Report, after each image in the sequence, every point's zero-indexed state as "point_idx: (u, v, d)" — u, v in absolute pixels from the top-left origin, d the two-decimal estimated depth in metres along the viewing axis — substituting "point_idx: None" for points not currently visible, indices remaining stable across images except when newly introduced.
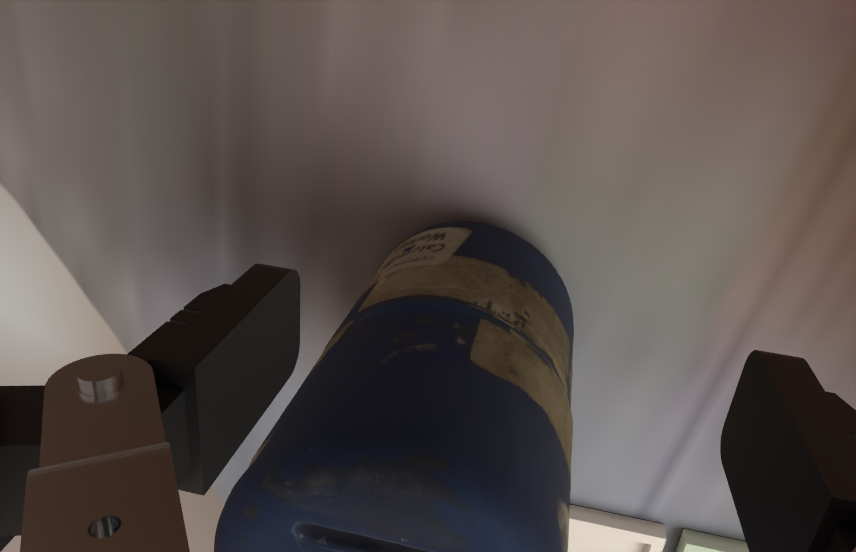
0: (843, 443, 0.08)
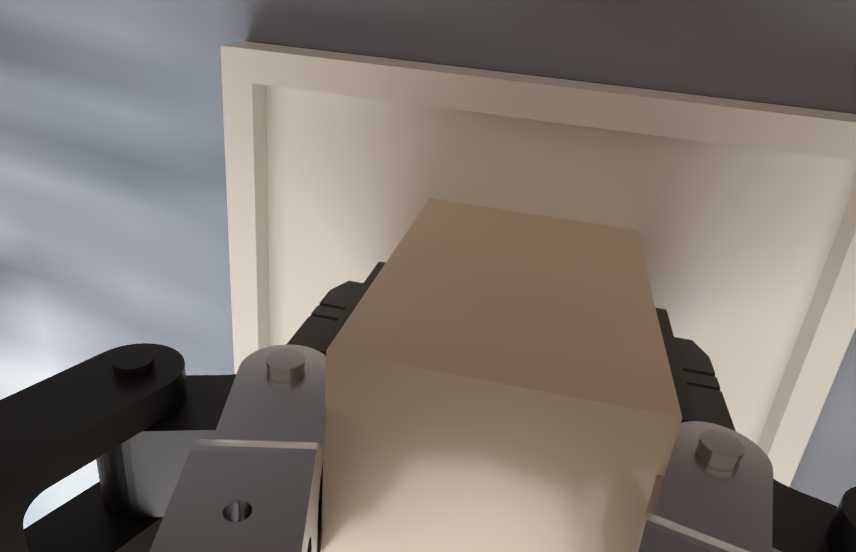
0: (672, 373, 0.10)
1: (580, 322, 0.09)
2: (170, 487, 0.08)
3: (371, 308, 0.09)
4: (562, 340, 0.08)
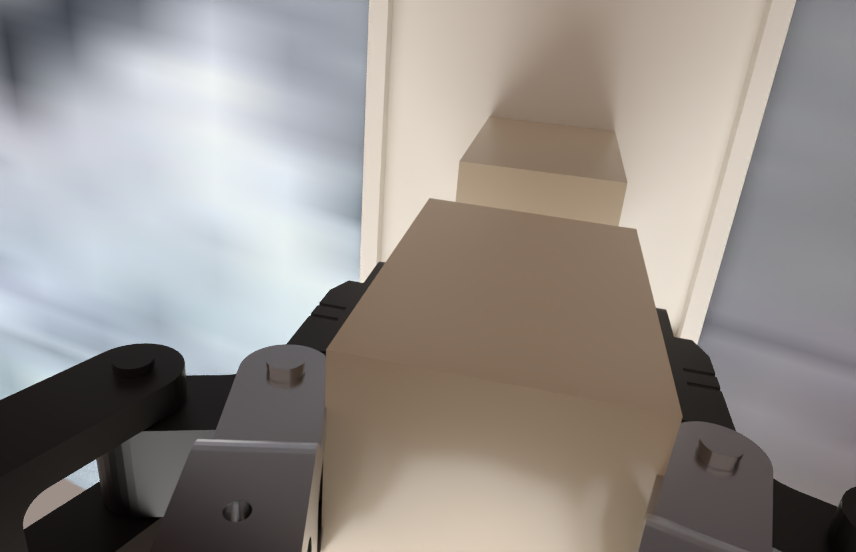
0: (672, 373, 0.10)
1: (580, 321, 0.09)
2: (170, 487, 0.08)
3: (371, 307, 0.09)
4: (562, 340, 0.08)
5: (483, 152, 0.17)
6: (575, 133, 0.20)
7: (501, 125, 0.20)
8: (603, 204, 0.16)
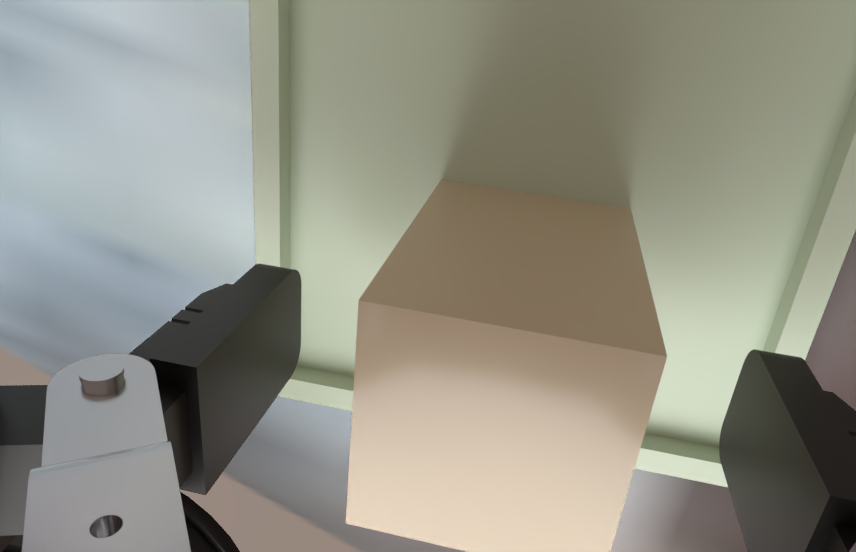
0: (841, 442, 0.08)
1: (580, 282, 0.10)
2: None
3: (395, 268, 0.10)
4: (563, 296, 0.09)
5: None
6: None
7: None
8: None
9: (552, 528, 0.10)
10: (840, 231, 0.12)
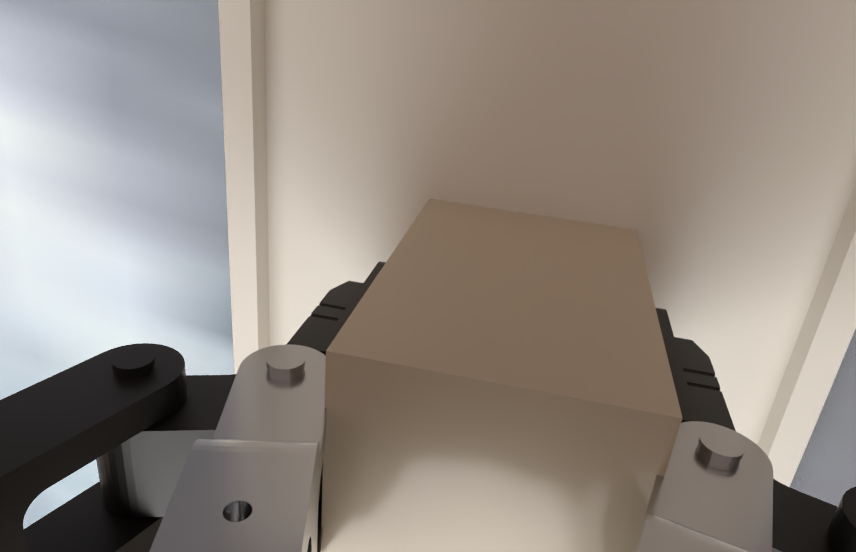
0: (672, 373, 0.10)
1: None
2: (170, 487, 0.08)
3: None
4: None
5: (388, 312, 0.09)
6: (570, 240, 0.12)
7: (444, 222, 0.12)
8: (626, 453, 0.07)
9: None
10: None
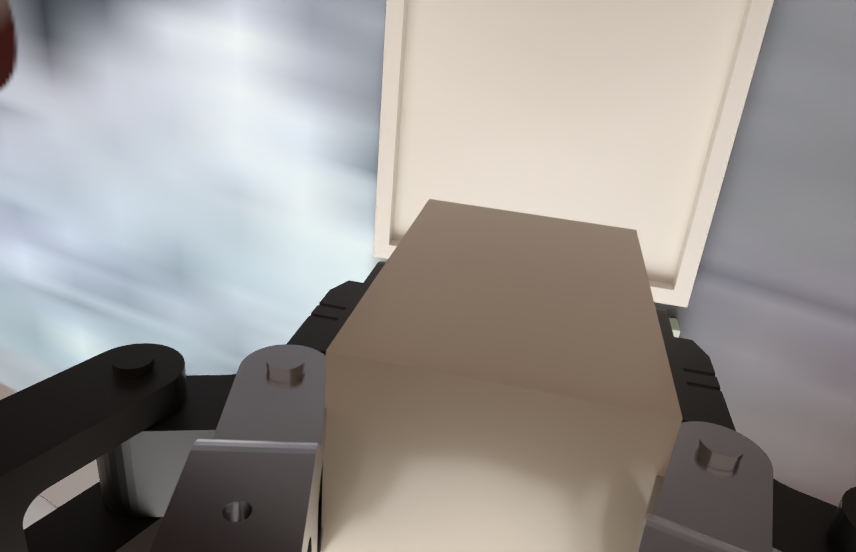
0: (672, 373, 0.10)
1: None
2: (170, 487, 0.08)
3: None
4: None
5: (388, 312, 0.09)
6: (570, 240, 0.12)
7: (444, 222, 0.12)
8: (626, 453, 0.07)
9: None
10: None
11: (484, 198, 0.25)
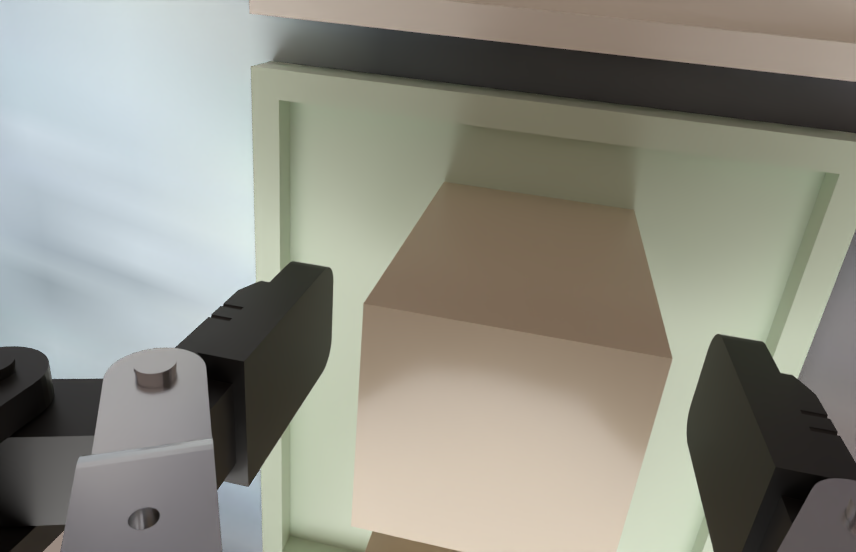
0: (792, 419, 0.09)
1: None
2: (33, 495, 0.08)
3: None
4: None
5: (414, 274, 0.10)
6: (573, 218, 0.13)
7: (459, 202, 0.13)
8: (624, 391, 0.08)
9: None
10: None
11: None
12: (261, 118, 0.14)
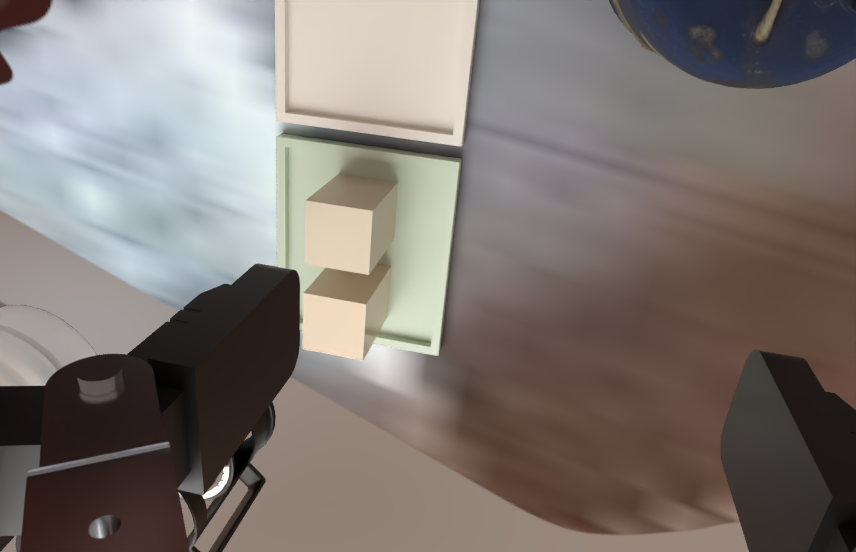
0: (843, 443, 0.08)
1: (358, 289, 0.41)
2: None
3: (313, 285, 0.41)
4: (351, 292, 0.41)
5: (319, 195, 0.39)
6: (375, 184, 0.42)
7: (340, 179, 0.42)
8: (364, 219, 0.37)
9: (349, 346, 0.41)
10: (443, 274, 0.44)
11: (341, 81, 0.41)
12: (279, 152, 0.43)
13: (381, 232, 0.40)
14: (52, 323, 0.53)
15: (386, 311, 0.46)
